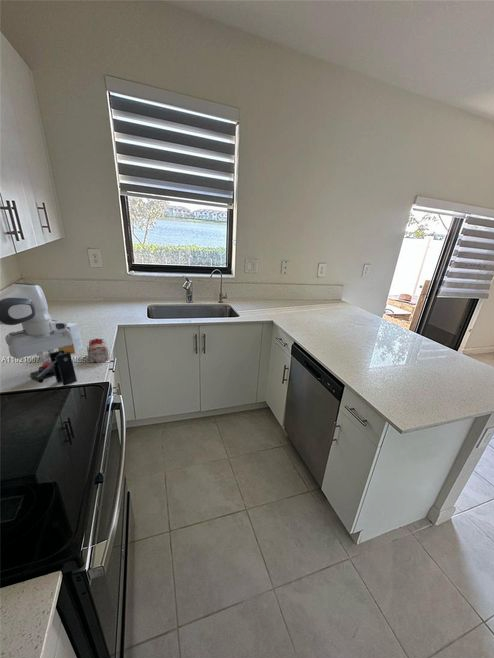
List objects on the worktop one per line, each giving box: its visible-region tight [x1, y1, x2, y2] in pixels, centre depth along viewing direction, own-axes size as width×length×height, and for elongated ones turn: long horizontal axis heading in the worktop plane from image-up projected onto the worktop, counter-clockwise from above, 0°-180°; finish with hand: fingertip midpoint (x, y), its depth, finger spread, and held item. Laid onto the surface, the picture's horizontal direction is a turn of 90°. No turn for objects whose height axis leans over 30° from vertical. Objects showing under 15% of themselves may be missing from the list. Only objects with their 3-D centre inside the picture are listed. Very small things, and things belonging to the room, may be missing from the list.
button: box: [41, 361, 52, 369], centre depth 113 cm, size 4×4×2 cm
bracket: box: [49, 350, 78, 386], centre depth 106 cm, size 12×9×13 cm
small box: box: [57, 322, 84, 354], centre depth 138 cm, size 8×6×13 cm
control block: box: [30, 365, 55, 380], centre depth 114 cm, size 10×8×4 cm
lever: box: [30, 352, 63, 384], centre depth 101 cm, size 12×5×2 cm, turn 154°
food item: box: [86, 338, 110, 364], centre depth 129 cm, size 14×8×10 cm, turn 32°
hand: (47, 361), depth 112 cm, fingers closed
